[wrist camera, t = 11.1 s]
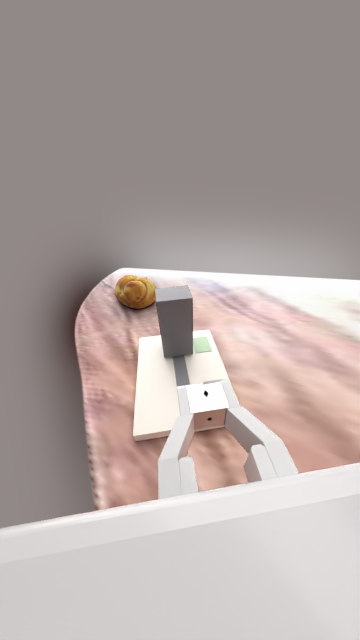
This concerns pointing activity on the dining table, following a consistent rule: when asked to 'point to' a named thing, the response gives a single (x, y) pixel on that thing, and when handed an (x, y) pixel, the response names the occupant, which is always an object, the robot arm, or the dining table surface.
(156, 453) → the dining table surface
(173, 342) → the switch tab
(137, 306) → the bread roll
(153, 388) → the switch panel
